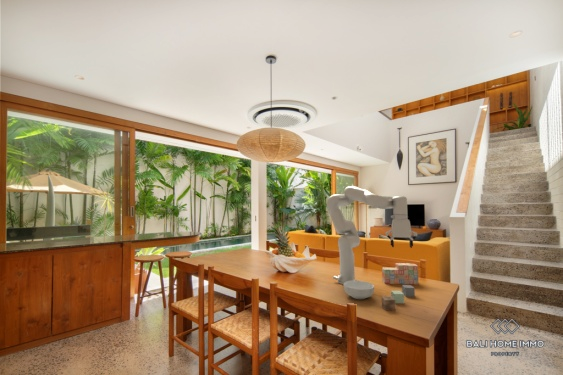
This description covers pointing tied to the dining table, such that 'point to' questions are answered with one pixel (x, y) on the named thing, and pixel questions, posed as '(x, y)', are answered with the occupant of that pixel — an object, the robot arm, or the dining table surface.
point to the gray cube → (408, 290)
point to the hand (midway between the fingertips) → (401, 247)
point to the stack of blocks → (401, 274)
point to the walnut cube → (388, 303)
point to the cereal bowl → (358, 289)
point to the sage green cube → (397, 296)
